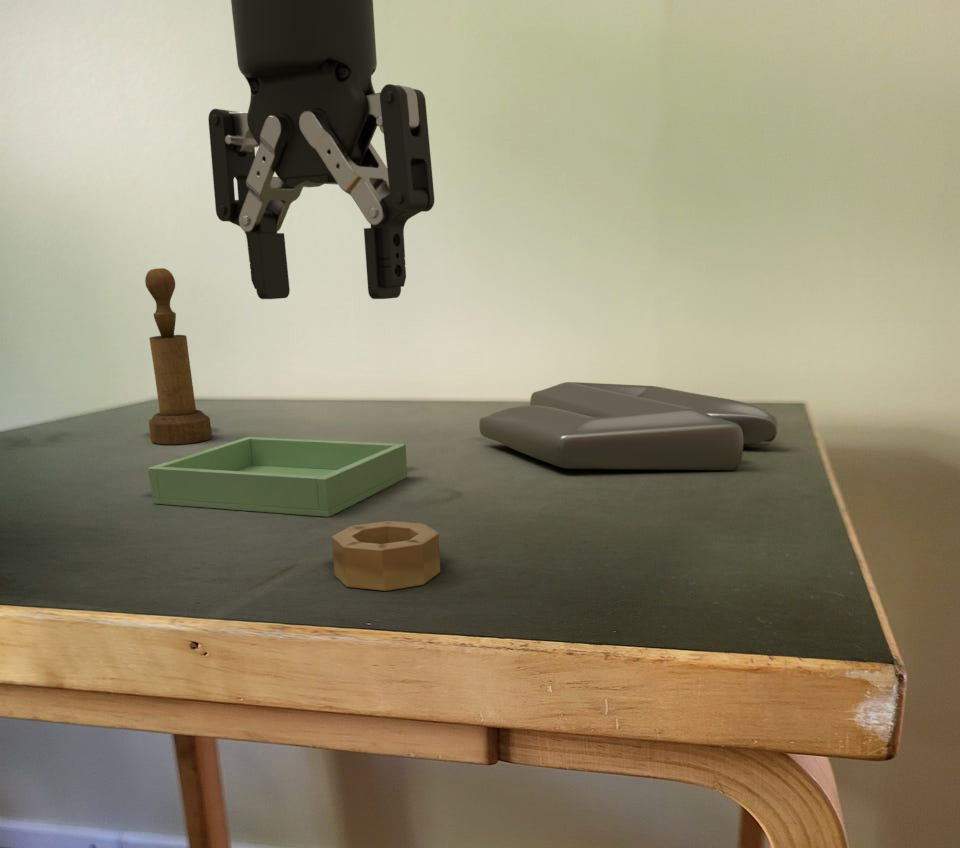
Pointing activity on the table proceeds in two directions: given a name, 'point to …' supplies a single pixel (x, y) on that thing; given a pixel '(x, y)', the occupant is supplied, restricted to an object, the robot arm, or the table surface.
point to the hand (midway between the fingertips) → (328, 298)
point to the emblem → (630, 428)
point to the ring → (386, 555)
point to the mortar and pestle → (172, 373)
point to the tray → (280, 475)
